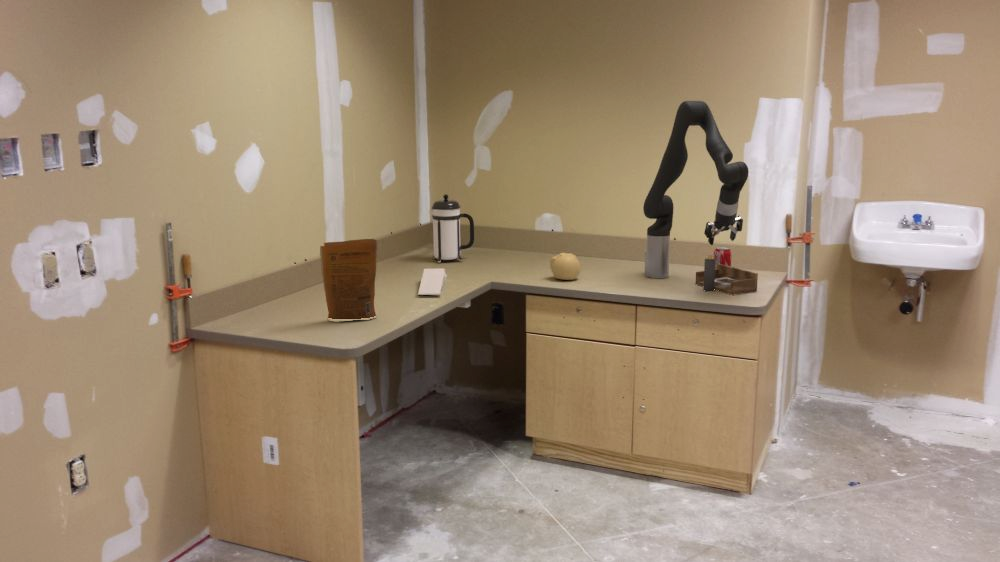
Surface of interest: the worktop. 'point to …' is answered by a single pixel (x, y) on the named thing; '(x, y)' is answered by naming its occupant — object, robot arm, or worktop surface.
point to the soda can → (722, 256)
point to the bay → (735, 274)
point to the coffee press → (448, 229)
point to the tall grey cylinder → (709, 274)
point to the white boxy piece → (432, 282)
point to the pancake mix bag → (349, 278)
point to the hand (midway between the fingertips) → (721, 241)
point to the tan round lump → (565, 266)
